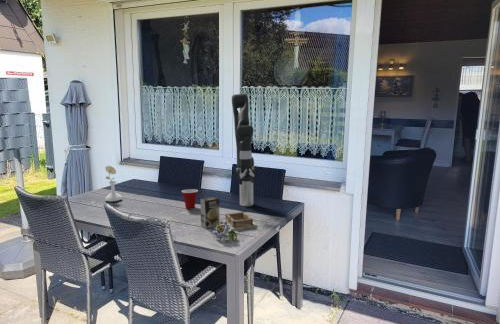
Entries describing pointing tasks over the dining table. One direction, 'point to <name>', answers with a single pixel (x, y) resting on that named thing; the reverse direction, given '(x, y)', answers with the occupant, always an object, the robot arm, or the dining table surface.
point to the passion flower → (224, 231)
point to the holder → (239, 221)
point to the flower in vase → (112, 186)
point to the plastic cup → (189, 198)
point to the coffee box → (210, 212)
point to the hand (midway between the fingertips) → (246, 183)
